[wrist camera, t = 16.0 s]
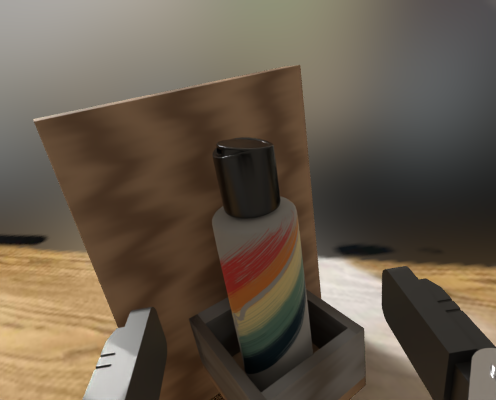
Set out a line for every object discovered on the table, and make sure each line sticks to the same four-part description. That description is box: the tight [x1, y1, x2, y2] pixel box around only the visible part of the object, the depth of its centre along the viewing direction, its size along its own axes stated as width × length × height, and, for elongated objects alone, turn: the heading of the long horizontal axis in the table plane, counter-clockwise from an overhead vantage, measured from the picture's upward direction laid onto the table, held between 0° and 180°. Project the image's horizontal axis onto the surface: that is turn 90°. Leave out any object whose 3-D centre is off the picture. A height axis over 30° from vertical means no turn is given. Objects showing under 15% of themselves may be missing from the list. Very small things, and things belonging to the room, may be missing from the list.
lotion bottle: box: [212, 137, 313, 392], centre depth 24 cm, size 6×6×20 cm
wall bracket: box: [33, 65, 366, 400], centre depth 26 cm, size 20×12×28 cm, turn 124°
